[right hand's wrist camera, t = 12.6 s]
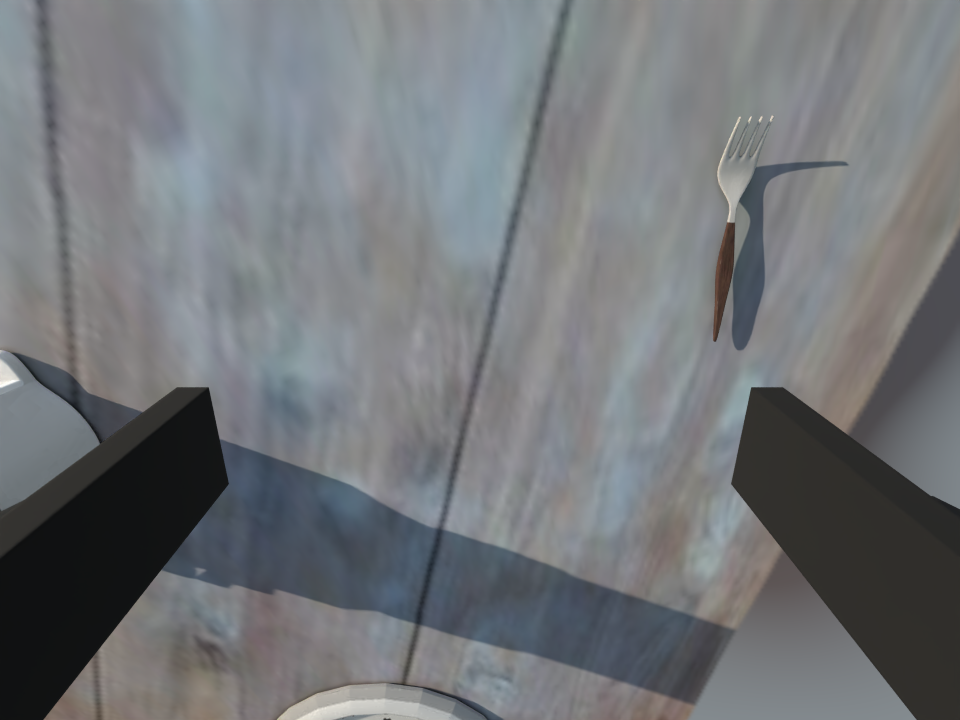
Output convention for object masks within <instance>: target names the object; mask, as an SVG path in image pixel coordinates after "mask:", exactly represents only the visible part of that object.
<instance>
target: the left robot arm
mask: <svg viewBox="0 0 960 720" xmlns="http://www.w3.org/2000/svg"><path fill="white" fill-rule="evenodd" d="M99 444H100V442H99V440H98V438H97V436H96V435H95V433H94V431H93V430H92V428H91V427H90V426H89V424H88V423H87V422H86V420H85V419H84V418H83V417H82V416H81V415H80V414H79V413H78V412H77V411H76V410H75V409H74V408H73V407H72V406H71V405H70V404H68V403H67V402H66V401H65V400H63V399H62V398H61V397H59V396H58V395H56V394H55V393H53V392H52V391H50V390H49V389H47V388H46V387H44V386H43V385H42V384H40V383H39V382H38V381H37V380H36V379H35V378H34V376H33V375H32V374H31V373H30V371H29V370H28V369H27V368H26V367H25V365H24V364H23V363H22V362H21V361H20V360H19V359H18V358H17V357H16V356H14V355H13V354H12V353H10V352H7V351H4V350H0V512H1V511H3V510H5V509H7V508H9V507H11V506H13V505H15V504H17V503H19V502H21V501H23V500H25V499H26V498H27V497H29V496H30V495H31V494H33V493H34V492H36V491H37V490H38V489H40V488H41V487H42V486H44V485H45V484H46V483H48V482H49V481H51V480H52V479H53V478H55V477H56V476H57V475H59V474H60V473H61V472H63V471H64V470H65V469H67V468H68V467H70V466H71V465H72V464H74V463H75V462H76V461H78V460H79V459H80V458H82V457H83V456H84V455H86V454H87V453H89V452H90V451H91V450H93V449H94V448H95V447H97V446H98V445H99Z"/></svg>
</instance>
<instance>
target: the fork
mask: <svg viewBox="0 0 960 720" xmlns="http://www.w3.org/2000/svg"><path fill="white" fill-rule="evenodd" d="M762 118H763V116H761V118H760V120H759V122H758V124H757V126H756V128H755V130H754V132H753V134H752V136H751V138H750V140H749V143H748V145H747V147H746V149H745V151H744V153H743V155H742V156H741V157H740V156H739V153H740V149H741V146H742V144H743V141H744V138H745V135H746V132H747V129H748V127H749V124H750V121H751V119H752V117H750V118H749V120H748V123H747V125H746V127H745V129H744V131H743V133H742V135H741V138H740V140H739V142H738V144H737V147H736V149H735V151H734V153H733V155H732V156H731V157H729V152H730V149H731V145H732V142H733V139H734V136H735V133H736V130H737V128H738V125H739V122H740V120H741V117H739V119H738V121H737V123H736V126H735V128H734V130H733V132H732V134H731V137H730V139H729V141H728V144H727V146H726V149H725V151H724V154H723V156H722V159H721V161H720V164H719V167H718V181H719V184H720V187H721V189H722V191H723V193H724V194H725V196H726V198H727V200H728V203H729V207H730V211H729V217H728V221H727V225H726V229H725V233H724V237H723V241H722V245H721V249H720V253H719V257H718V262H717V268H716V279H715V311H714V329H713V341H714V342H716V340H717V337H718V333H719V329H720V325H721V320H722V316H723V311H724V307H725V303H726V299H727V295H728V291H729V287H730V283H731V278H732V273H733V264H734V239H735V214H736V208H737V204H738V202H739V200H740V198H741V196H742V195H743V193H744V191H745V190H746V188H747V186H748V184H749V182H750V181H751V178H752V176H753V174H754V171H755V168H756V165H757V161H758V157H759V154H760V151H761V148H762V145H763V143H764V140H765V137H766V135H767V132H768V130H769V127H770V125H771V122H772V120H773V118H774V116H772V117H771V119H770V121H769V123H768V125H767V127H766V129H765V131H764V133H763V135H762V137H761V139H760V141H759V143H758V145H757V148H756V150H755V152H754V154H753V155H752V156H750V150H751V147H752V144H753V142H754V139H755V136H756V133H757V131H758V128H759V126H760V123H761V121H762Z"/></svg>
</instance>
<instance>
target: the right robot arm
mask: <svg viewBox="0 0 960 720" xmlns="http://www.w3.org/2000/svg"><path fill="white" fill-rule="evenodd" d="M228 484H229V483H228V478H227V473H226V468H225V464H224V459H223V454H222V449H221V444H220V440H219V435H218V430H217V425H216V420H215V415H214V411H213V406H212V401H211V396H210V391H209V387H177V388H176V389H174V390H173V391H172V392H170V393H169V394H167V395H166V396H165V397H163V398H162V399H161V400H159V401H158V402H157V403H155V404H154V405H152V406H151V407H150V408H148V409H147V410H146V411H144V412H143V413H142V414H140V415H139V416H138V417H136V418H135V419H133V420H132V421H131V422H129V423H128V424H127V425H125V426H124V427H123V428H121V429H120V430H118V431H117V432H116V433H114V434H113V435H112V436H110V437H109V438H108V439H106V440H105V441H104V442H102V443H101V444H99V445H98V446H97V447H95V448H94V449H93V450H91V451H90V452H89V453H87V454H86V455H84V456H83V457H82V458H80V459H79V460H78V461H76V462H75V463H74V464H72V465H71V466H70V467H68V468H67V469H65V470H64V471H63V472H61V473H60V474H59V475H57V476H56V477H55V478H53V479H52V480H51V481H49V482H48V483H46V484H45V485H44V486H42V487H41V488H40V489H38V490H37V491H36V492H34V493H33V494H31V495H30V496H29V497H27V498H26V499H25V500H23V501H21V502H19V503H17V504H15V505H13V506H11V507H9V508H7V509H5V510H3V511H1V512H0V720H43V719H44V718H45V717H46V716H47V714H48V713H49V712H50V711H51V709H52V708H53V707H54V706H55V704H56V703H57V702H58V700H59V699H60V698H61V697H62V695H63V694H64V693H65V692H66V690H67V689H68V688H69V686H70V685H71V684H72V683H73V681H74V680H75V679H76V678H77V676H78V675H79V674H80V672H81V671H82V670H83V669H84V667H85V666H86V665H87V664H88V662H89V661H90V660H91V658H92V657H93V656H94V655H95V653H96V652H97V651H98V650H99V648H100V647H101V646H102V644H103V643H104V642H105V641H106V639H107V638H108V637H109V636H110V634H111V633H112V632H113V631H114V629H115V628H116V627H117V625H118V624H119V623H120V622H121V620H122V619H123V618H124V617H125V615H126V614H127V613H128V611H129V610H130V609H131V608H132V606H133V605H134V604H135V603H136V601H137V600H138V599H139V597H140V596H141V595H142V594H143V592H144V591H145V590H146V589H147V587H148V586H149V585H150V583H151V582H152V581H153V580H154V578H155V577H156V576H157V575H158V573H159V572H160V571H161V569H162V568H163V567H164V566H165V564H166V563H167V562H168V561H169V559H170V558H171V557H172V555H173V554H174V553H175V552H176V550H177V549H178V548H179V547H180V545H181V544H182V543H183V542H184V540H185V539H186V538H187V536H188V535H189V534H190V533H191V531H192V530H193V529H194V528H195V526H196V525H197V524H198V522H199V521H200V520H201V519H202V517H203V516H204V515H205V514H206V512H207V511H208V510H209V508H210V507H211V506H212V505H213V503H214V502H215V501H216V500H217V498H218V497H219V496H220V494H221V493H222V492H223V491H224V489H225V488H226V487H227V486H228ZM731 484H732V486H733V487H734V488H735V489H736V491H737V492H738V493H739V494H740V496H741V497H742V498H743V500H744V501H745V502H746V503H747V505H748V506H749V507H750V508H751V510H752V511H753V512H754V514H755V515H756V516H757V517H758V519H759V520H760V521H761V522H762V524H763V525H764V526H765V528H766V529H767V530H768V531H769V533H770V534H771V535H772V536H773V538H774V539H775V540H776V542H777V543H778V544H779V545H780V547H781V548H782V549H783V550H784V552H785V553H786V554H787V556H788V557H789V558H790V559H791V561H792V562H793V563H794V564H795V566H796V567H797V568H798V569H799V571H800V572H801V573H802V575H803V576H804V577H805V578H806V580H807V581H808V582H809V583H810V585H811V586H812V587H813V589H814V590H815V591H816V592H817V594H818V595H819V596H820V597H821V599H822V600H823V601H824V603H825V604H826V605H827V606H828V608H829V609H830V610H831V611H832V613H833V614H834V615H835V617H836V618H837V619H838V620H839V622H840V623H841V624H842V625H843V627H844V628H845V629H846V630H847V632H848V633H849V634H850V636H851V637H852V638H853V639H854V641H855V642H856V643H857V644H858V646H859V647H860V648H861V649H862V651H863V652H864V653H865V655H866V656H867V657H868V658H869V660H870V661H871V662H872V664H873V665H874V666H875V667H876V669H877V670H878V671H879V672H880V674H881V675H882V676H883V678H884V679H885V680H886V681H887V683H888V684H889V685H890V686H891V688H892V689H893V690H894V691H895V693H896V694H897V695H898V697H899V698H900V699H901V700H902V702H903V703H904V704H905V706H906V707H907V708H908V709H909V711H910V712H911V713H912V714H913V716H914V717H915V718H916V719H917V720H960V509H958V508H956V507H954V506H952V505H950V504H948V503H946V502H944V501H942V500H940V499H938V498H936V497H934V496H930V495H929V494H927V493H926V492H924V491H923V490H922V489H920V488H919V487H918V486H916V485H915V484H914V483H912V482H911V481H909V480H908V479H907V478H905V477H904V476H903V475H901V474H900V473H899V472H897V471H896V470H895V469H893V468H892V467H890V466H889V465H888V464H886V463H885V462H884V461H882V460H881V459H880V458H878V457H877V456H875V455H874V454H873V453H871V452H870V451H869V450H867V449H866V448H865V447H863V446H862V445H861V444H859V443H858V442H856V441H855V440H854V439H852V438H851V437H850V436H848V435H847V434H846V433H844V432H843V431H842V430H840V429H839V428H837V427H836V426H835V425H833V424H832V423H831V422H829V421H828V420H827V419H825V418H824V417H822V416H821V415H820V414H818V413H817V412H816V411H814V410H813V409H812V408H810V407H809V406H808V405H806V404H805V403H803V402H802V401H801V400H799V399H798V398H797V397H795V396H794V395H793V394H791V393H790V392H788V391H787V390H786V389H784V388H783V387H751V391H750V396H749V401H748V406H747V411H746V415H745V420H744V425H743V430H742V435H741V440H740V444H739V449H738V454H737V459H736V464H735V468H734V473H733V478H732V483H731Z"/></svg>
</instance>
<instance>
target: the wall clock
mask: <svg viewBox="0 0 960 720" xmlns="http://www.w3.org/2000/svg"><path fill="white" fill-rule="evenodd" d="M277 720H487V719H486V718H485V717H484V716H483V715H482V714H480V713H478V712H477V711H475V710H473V709H472V708H470V707H468V706H467V705H465V704H463V703H462V702H460V701H458V700H457V699H454V698H451V697H448V696H445V695H442V694H439V693H436V692H433V691H430V690H427V689H424V688H418V687H411V686H403V685H396V684H388V683H382V684H362V685H349V686H345V687H341V688H337V689H333V690H329V691H325V692H321V693H317V694H315V695H313V696H311V697H309V698H307V699H305V700H303V701H301V702H300V703H298V704H296V705H294V706H292V707H290V708H289V709H288V710H287V711H285V712H284V713H283V714H282V715H281V716H280V717H279V718H278V719H277Z"/></svg>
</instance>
